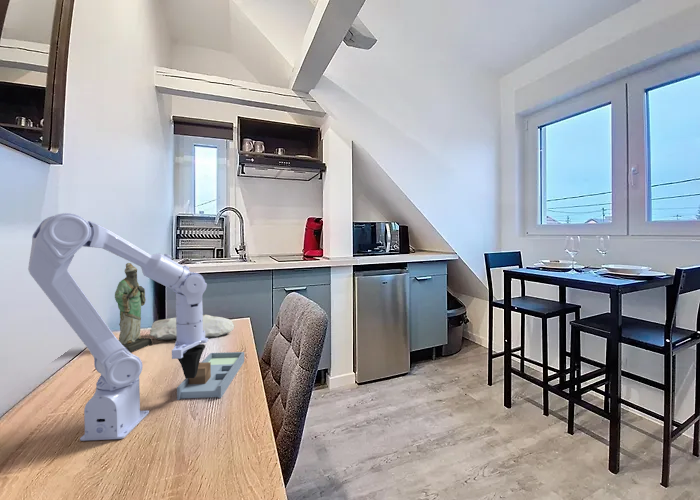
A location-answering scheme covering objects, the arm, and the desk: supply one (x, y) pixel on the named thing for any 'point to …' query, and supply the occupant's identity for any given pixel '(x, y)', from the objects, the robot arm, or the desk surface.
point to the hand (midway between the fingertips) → (190, 377)
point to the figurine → (131, 310)
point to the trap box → (214, 376)
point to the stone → (210, 326)
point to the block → (202, 374)
